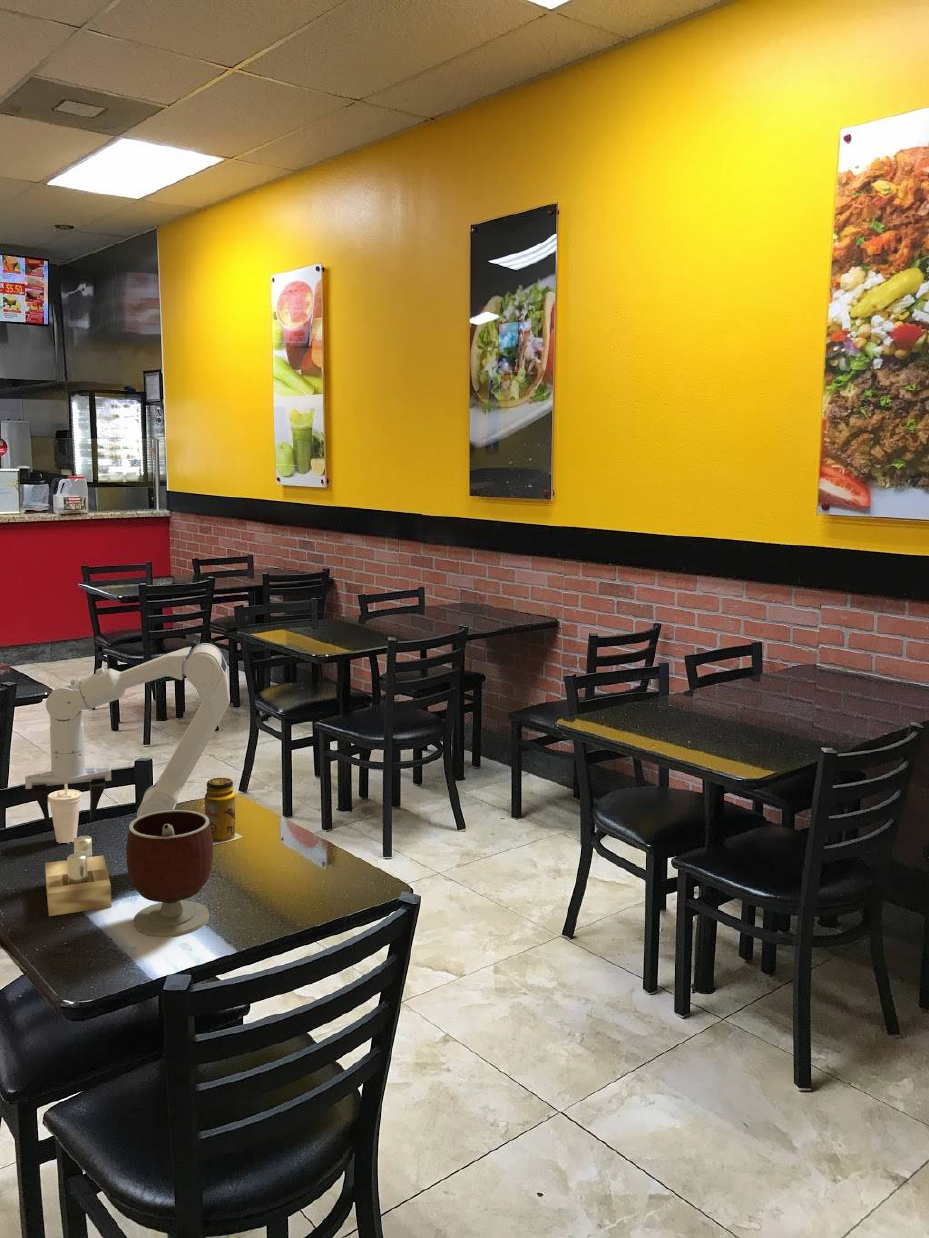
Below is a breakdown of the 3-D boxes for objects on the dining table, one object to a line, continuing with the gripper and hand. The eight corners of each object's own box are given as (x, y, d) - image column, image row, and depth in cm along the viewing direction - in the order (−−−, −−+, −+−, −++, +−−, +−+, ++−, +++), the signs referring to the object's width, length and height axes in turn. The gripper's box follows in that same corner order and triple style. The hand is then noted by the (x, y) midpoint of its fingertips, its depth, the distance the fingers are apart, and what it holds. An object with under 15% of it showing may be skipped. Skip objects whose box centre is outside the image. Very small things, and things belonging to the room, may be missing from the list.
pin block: (104, 875, 186) (103, 855, 185) (111, 906, 173) (110, 884, 172) (46, 883, 181) (45, 862, 181) (48, 916, 169) (47, 893, 168)
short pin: (95, 855, 195) (94, 836, 194) (87, 862, 192) (87, 842, 191) (79, 854, 195) (78, 835, 194) (71, 861, 192) (70, 841, 191)
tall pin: (91, 896, 177) (90, 853, 176) (83, 904, 174) (81, 860, 173) (74, 895, 177) (72, 852, 176) (65, 903, 174) (63, 859, 173)
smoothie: (60, 848, 198) (58, 780, 196) (43, 840, 202) (40, 773, 199) (89, 839, 203) (87, 773, 201) (72, 831, 207) (69, 766, 204)
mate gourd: (132, 905, 174) (129, 794, 171) (214, 899, 177) (213, 790, 174) (123, 947, 159) (119, 827, 156) (213, 940, 162) (211, 822, 159)
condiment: (243, 837, 206) (243, 781, 204) (207, 847, 200) (206, 790, 198) (225, 827, 211) (224, 773, 209) (188, 837, 205) (187, 781, 204)
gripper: (107, 740, 189) (109, 809, 191) (23, 747, 183) (26, 818, 185) (111, 750, 182) (113, 821, 184) (24, 758, 176) (27, 831, 178)
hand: (70, 821), depth 184 cm, fingers open, 7 cm apart
